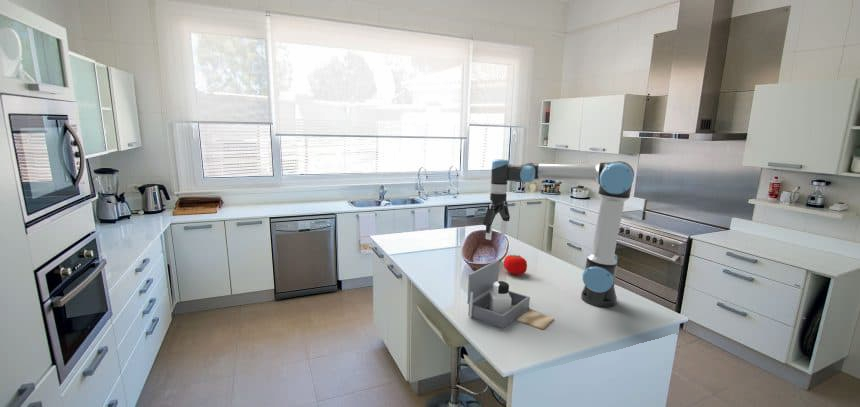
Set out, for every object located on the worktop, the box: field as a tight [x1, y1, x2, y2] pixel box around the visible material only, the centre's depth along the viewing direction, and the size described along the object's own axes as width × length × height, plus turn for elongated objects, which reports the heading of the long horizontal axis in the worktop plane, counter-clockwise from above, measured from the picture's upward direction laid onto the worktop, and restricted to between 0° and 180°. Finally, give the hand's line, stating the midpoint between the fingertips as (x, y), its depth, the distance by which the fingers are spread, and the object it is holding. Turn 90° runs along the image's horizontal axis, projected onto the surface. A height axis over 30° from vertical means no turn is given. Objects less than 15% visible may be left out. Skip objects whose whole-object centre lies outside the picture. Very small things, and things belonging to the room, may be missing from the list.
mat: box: [517, 309, 555, 330], centre depth 160 cm, size 11×11×1 cm
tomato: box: [503, 254, 528, 276], centre depth 211 cm, size 11×13×10 cm
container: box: [488, 280, 512, 315], centre depth 166 cm, size 8×8×13 cm
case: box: [466, 259, 531, 329], centre depth 165 cm, size 17×25×18 cm
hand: (496, 236), depth 187 cm, fingers open, 13 cm apart
